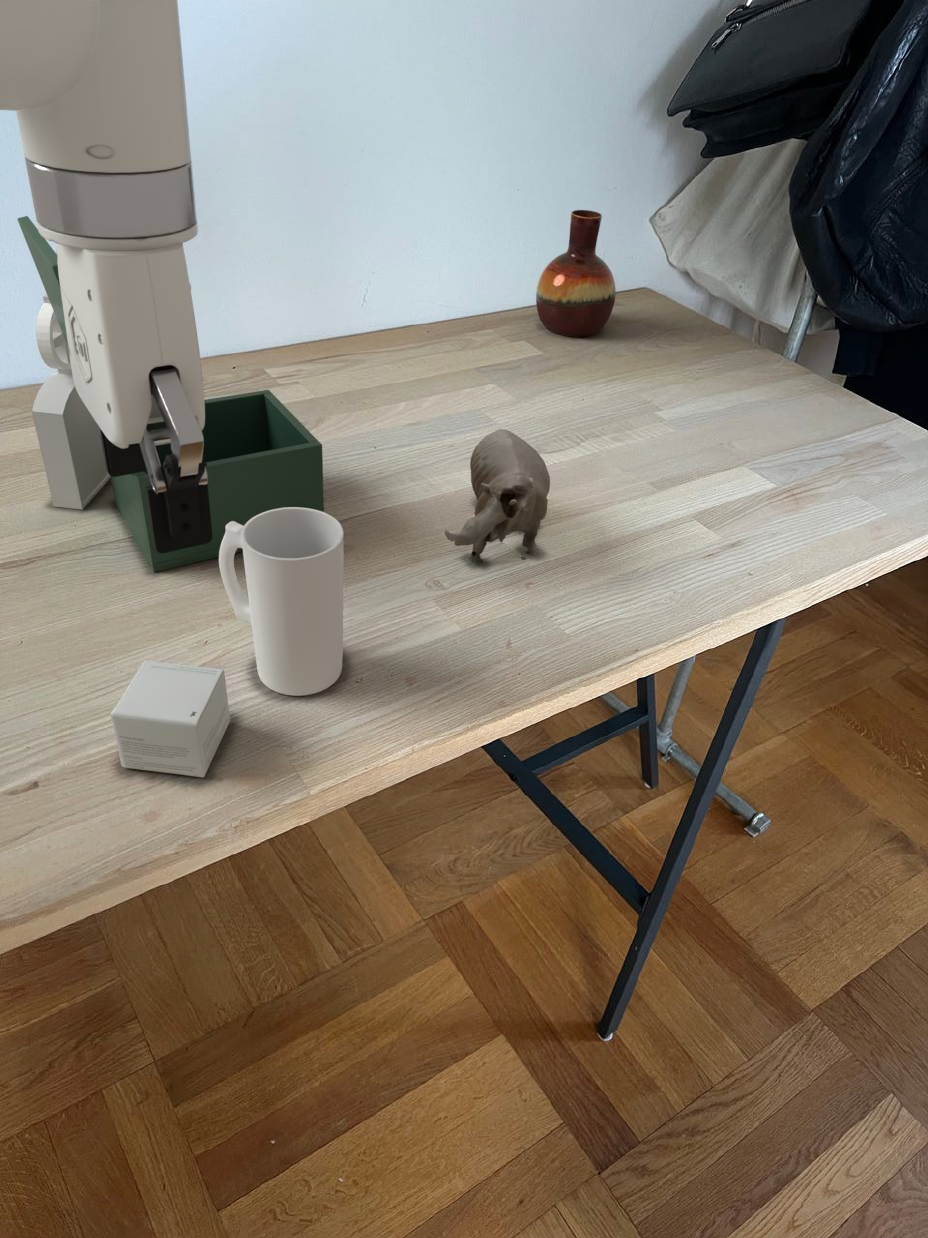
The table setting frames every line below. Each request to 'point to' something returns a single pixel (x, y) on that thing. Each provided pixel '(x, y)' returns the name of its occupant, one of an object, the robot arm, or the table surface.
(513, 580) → the table surface
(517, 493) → the rhinoceros figurine
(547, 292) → the vase
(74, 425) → the gravestone
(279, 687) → the mug
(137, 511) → the bin
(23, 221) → the bin lid
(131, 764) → the small box
